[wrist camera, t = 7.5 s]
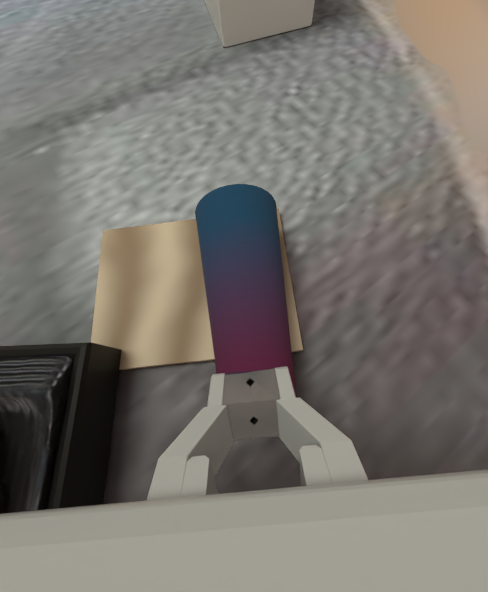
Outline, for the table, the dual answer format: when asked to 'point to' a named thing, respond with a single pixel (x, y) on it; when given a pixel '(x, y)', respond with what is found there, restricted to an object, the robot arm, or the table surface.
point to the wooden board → (161, 296)
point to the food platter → (55, 424)
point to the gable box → (258, 18)
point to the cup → (244, 279)
